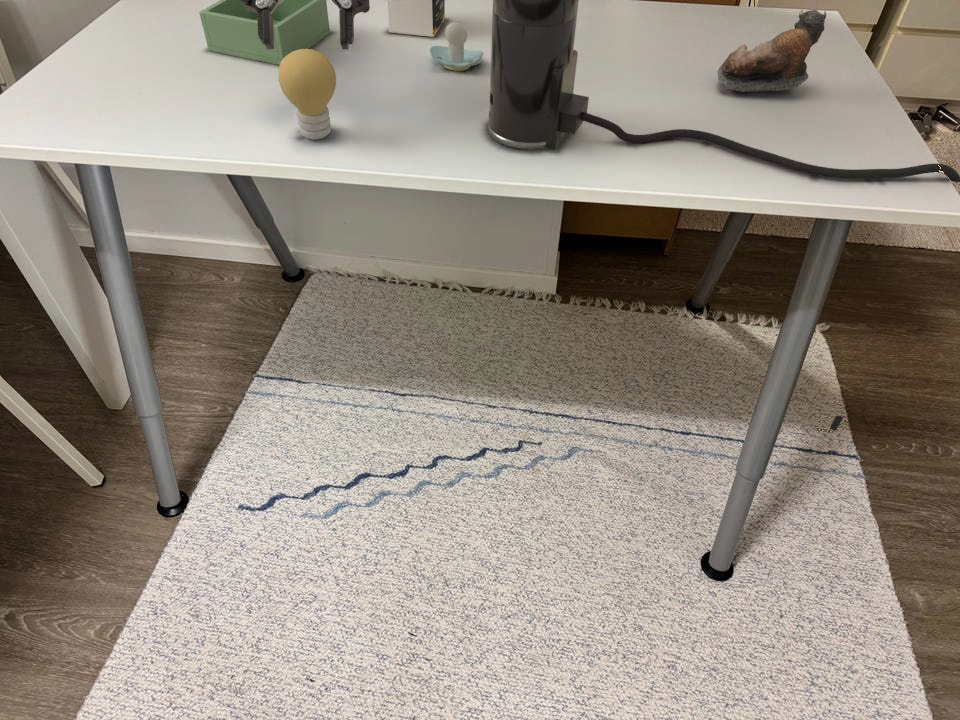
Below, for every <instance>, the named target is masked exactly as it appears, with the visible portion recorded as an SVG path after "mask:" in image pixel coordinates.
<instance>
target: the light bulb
mask: <svg viewBox="0 0 960 720" xmlns="http://www.w3.org/2000/svg"><path fill="white" fill-rule="evenodd" d="M277 74H278V75H277V77H278V83H279V86H280V89H281V92H282V94H283V95H284V96H285V98H286V99H287V100H288V101H289V102H290V103H291V104H292V105H293V106H294V107H295V108H296V117H297V124H298V129H299V133H300V135H301V136H303V137H304V138H306V139H308V140H313V141H315V140H323V139H324V138H326V137H327V136H328V135H329V134H330V133H331V132H332V124H331V117H330V110H329V107H328V104H329V102H330V101H331V99H332V98H333V96H334V94H335V91H336V88H337V74H336V71H335V68H334V66H333V64H332V62H331V60H330V59H329V58H328V57H327V56H326V55H324V54H323V53H322V52H320V51H318V50H314V49H311V48H309V49H299V50H296V51H293V52H291V53H289V54H288V55H287V56H285V57H284V58H283V60H282V61H281V63H280V65H278V73H277Z"/></svg>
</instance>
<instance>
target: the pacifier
mask: <svg viewBox="0 0 960 720" xmlns="http://www.w3.org/2000/svg"><path fill="white" fill-rule="evenodd" d="M444 32H445V33H444V35H445V38H446V40H447V42H448V47H446V46H442V45H434V46H431V47H430V48H429V54H430V56H431V58H432V59H433V61H435V62H437V63H438V64H439V65H442V66H443V67H444V68H445V69H447V70H451V71H456V72H459V71H460V72H461V71H466V70H469V69H470V68H471V67H473V66H477V65H479V64H481V63H482V62H483V59H482V57H483V55H484V51H483V50H481V49H480V50H478V49H465V43H466V41H467V40H468V31H467V29H466V27H465V26H464V25H463V24H461V23H460V22H457V21H453V22H450V23H448V24H447V26H446V27H445V31H444Z"/></svg>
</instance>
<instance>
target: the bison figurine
mask: <svg viewBox="0 0 960 720" xmlns="http://www.w3.org/2000/svg"><path fill="white" fill-rule="evenodd" d="M798 18H799V19H798V21H797V22H795V23H794V25H793V26H794V28H790V29H787V30H785V31H781V32H780V33H778V34H777V35H776V36H775V37H774V38H772V39H770V40H767V41H765V42H762V43H760V44H758V45H756V46H755V47H754V48H752V49H748V46H747V44H745V43H743V44H741V45H739V46H738V47H737V48H736V49H735V50H734V51H733V52H730V53H729V55H728V56H727V57H726V59H724V61H723V63H722V64H721V65H720V66H719V68H718V69H717V78H718V82H719V84H721V85H722V86H723V88H724V89H726V90H730V91H731V90H732V91H734V92H735V91H736V92H741V93H742V92H743V93H745V92H747V93H763V92H780V91H786V90H791V89H795V88H798V87H799V86H801V85H802V84H803V83H804V82H806V81H807V80H808V79H809V74H808V72H807V69H808V65H807V62H806V59H807V57H808V56H809V54H810V51H811V48H812V47H813V46H814V45H815V44H817V43H818V42H819V40H820V38H821V36H822V34H823V32H824V31H825V22H826V21H825V20H826V18H827V11H826V10H824V11H823V13H821V12H820V11H818V10H816V9H809V10H807V11H804V9H802V10H800V12H799V13H798Z"/></svg>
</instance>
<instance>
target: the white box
mask: <svg viewBox="0 0 960 720" xmlns="http://www.w3.org/2000/svg"><path fill="white" fill-rule="evenodd" d="M445 3H446V2H445V0H386V11H387V12H386V13H387V27H388V32H389V33H390V34H401V35H411V36H420V37H429V38H432V37H435V36H436V34H437V33H438V31H439V30H440V27H441V26H442V25H443V23H444V21H445V19H446V11H445V10H446V6H445Z"/></svg>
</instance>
